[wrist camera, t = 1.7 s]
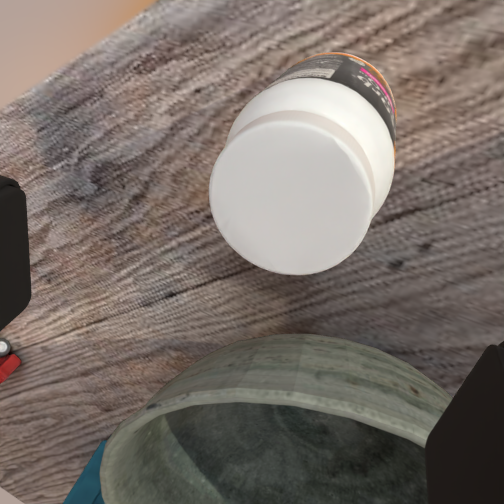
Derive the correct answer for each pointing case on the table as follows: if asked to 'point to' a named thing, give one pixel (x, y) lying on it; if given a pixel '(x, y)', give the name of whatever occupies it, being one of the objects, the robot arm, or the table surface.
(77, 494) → the handheld gaming console
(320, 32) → the table surface
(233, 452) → the bowl
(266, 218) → the pill bottle
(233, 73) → the table surface
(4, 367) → the toy fire truck
